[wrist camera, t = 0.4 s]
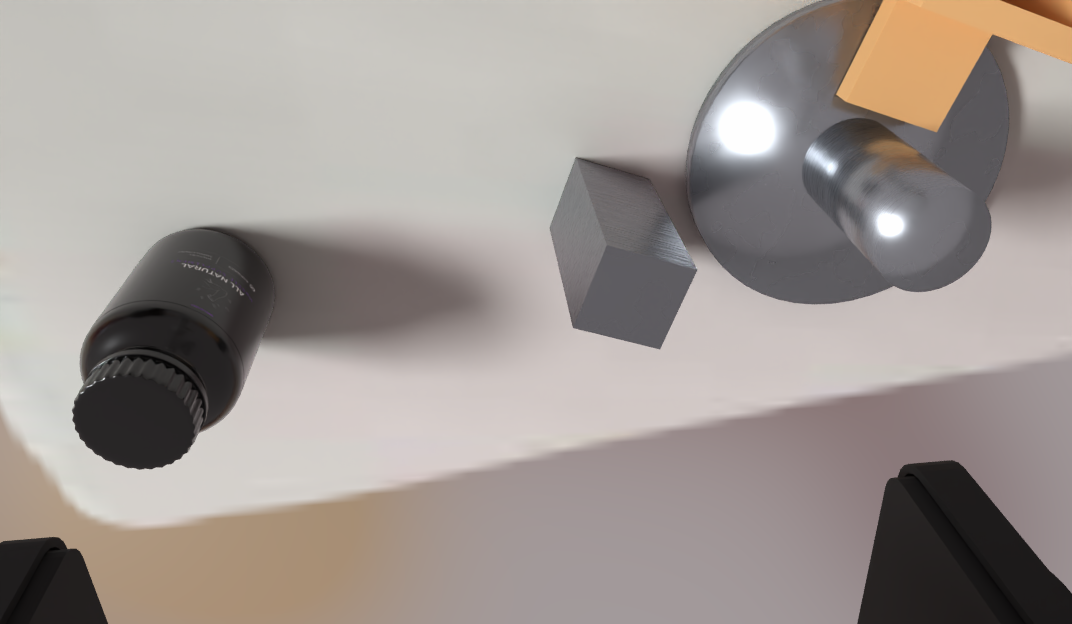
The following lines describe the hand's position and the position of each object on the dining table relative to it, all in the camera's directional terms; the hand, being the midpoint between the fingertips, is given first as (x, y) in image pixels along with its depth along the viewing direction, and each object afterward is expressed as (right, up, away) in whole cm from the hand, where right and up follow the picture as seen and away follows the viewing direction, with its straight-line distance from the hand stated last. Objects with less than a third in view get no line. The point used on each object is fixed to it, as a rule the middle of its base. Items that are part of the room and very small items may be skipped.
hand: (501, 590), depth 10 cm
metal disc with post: (+16, +11, +34) cm, 39 cm away
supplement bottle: (-17, +5, +35) cm, 39 cm away
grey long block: (+4, +9, +35) cm, 36 cm away
